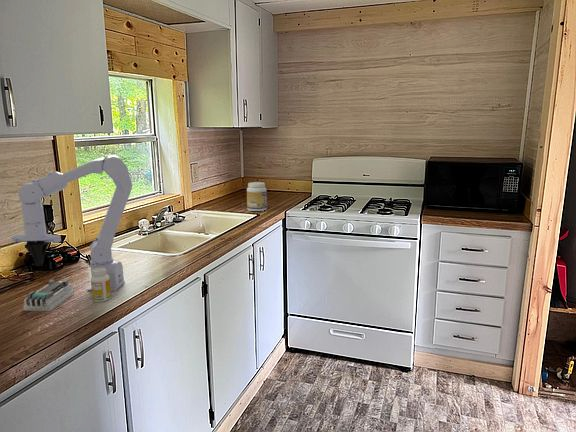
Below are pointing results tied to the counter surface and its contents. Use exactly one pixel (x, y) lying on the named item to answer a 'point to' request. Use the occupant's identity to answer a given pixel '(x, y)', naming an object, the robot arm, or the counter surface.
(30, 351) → the counter surface
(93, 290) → the supplement bottle
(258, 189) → the supplement tub
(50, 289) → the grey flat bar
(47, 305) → the heat sink
